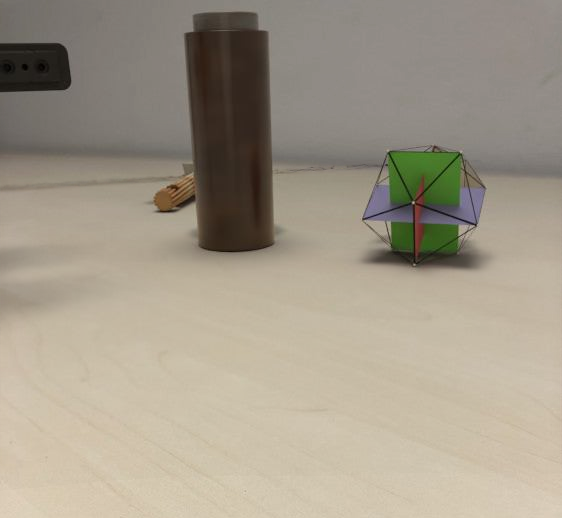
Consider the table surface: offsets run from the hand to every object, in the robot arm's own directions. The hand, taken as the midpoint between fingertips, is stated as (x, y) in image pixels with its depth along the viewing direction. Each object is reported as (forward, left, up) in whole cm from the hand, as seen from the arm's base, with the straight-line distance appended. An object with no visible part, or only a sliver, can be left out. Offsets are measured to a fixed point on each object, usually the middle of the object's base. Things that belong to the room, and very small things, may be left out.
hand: (56, 68), depth 40 cm
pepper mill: (+10, +2, -11) cm, 15 cm away
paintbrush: (+11, +25, -11) cm, 29 cm away
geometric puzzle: (+20, -6, -11) cm, 24 cm away
